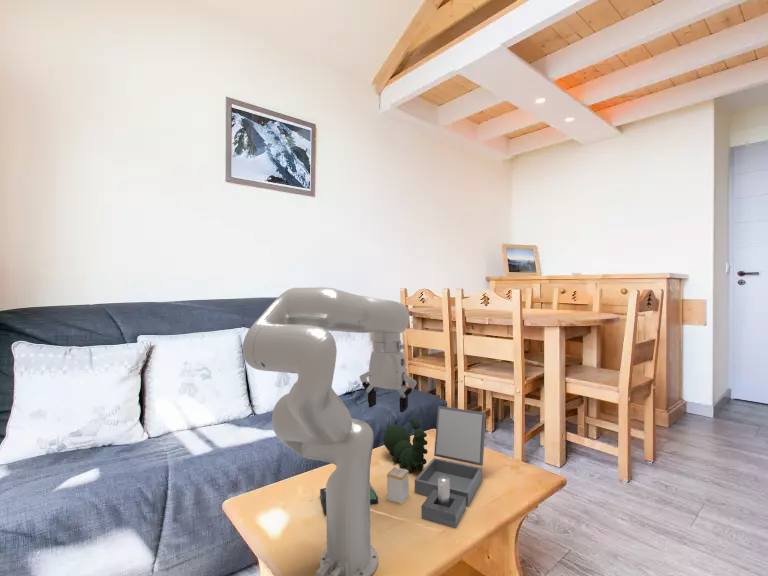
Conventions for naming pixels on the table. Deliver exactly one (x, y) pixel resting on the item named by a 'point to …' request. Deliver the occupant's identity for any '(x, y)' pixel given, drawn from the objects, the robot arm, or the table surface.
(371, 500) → the disk drive
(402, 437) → the toy figurine
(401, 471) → the block
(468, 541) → the table surface
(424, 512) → the socket block
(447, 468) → the case
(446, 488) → the rod
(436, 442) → the lid
